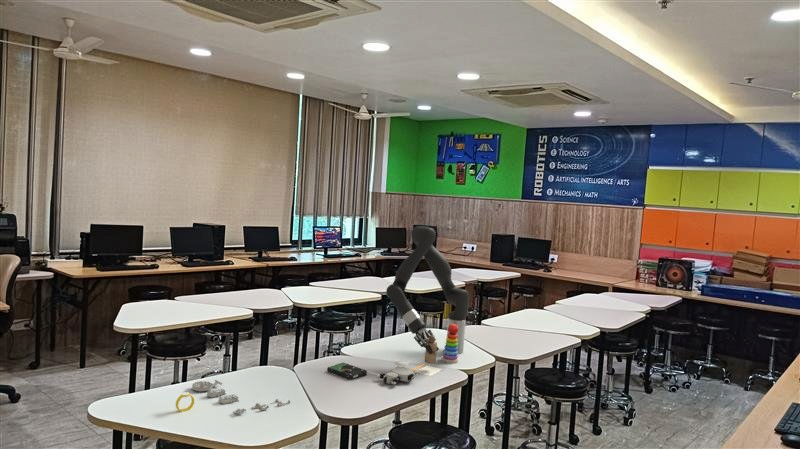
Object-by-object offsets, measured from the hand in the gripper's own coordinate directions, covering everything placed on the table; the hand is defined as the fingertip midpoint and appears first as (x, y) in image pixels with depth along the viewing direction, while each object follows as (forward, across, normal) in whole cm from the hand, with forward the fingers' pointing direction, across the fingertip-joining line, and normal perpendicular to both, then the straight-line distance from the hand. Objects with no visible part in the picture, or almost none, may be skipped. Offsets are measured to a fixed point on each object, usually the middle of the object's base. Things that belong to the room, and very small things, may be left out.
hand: (434, 351), depth 244 cm
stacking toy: (+6, +20, +7) cm, 22 cm away
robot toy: (+2, -22, +12) cm, 25 cm away
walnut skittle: (+2, 0, +5) cm, 5 cm away
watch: (-26, -97, +41) cm, 108 cm away
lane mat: (0, -1, +14) cm, 14 cm away
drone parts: (-23, -76, +39) cm, 88 cm away
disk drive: (-13, -28, +28) cm, 41 cm away
